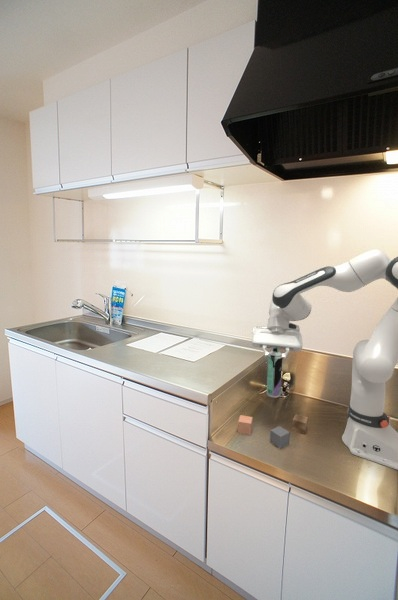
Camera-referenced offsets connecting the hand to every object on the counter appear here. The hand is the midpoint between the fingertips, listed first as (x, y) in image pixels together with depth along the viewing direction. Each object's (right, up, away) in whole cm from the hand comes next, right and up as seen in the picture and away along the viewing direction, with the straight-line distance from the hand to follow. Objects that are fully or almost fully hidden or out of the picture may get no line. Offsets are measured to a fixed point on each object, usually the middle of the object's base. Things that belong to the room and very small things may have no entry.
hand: (275, 357), depth 119 cm
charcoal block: (0, -32, -5) cm, 32 cm away
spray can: (0, -16, +3) cm, 16 cm away
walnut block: (+11, -30, +4) cm, 33 cm away
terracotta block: (-11, -30, +3) cm, 32 cm away
